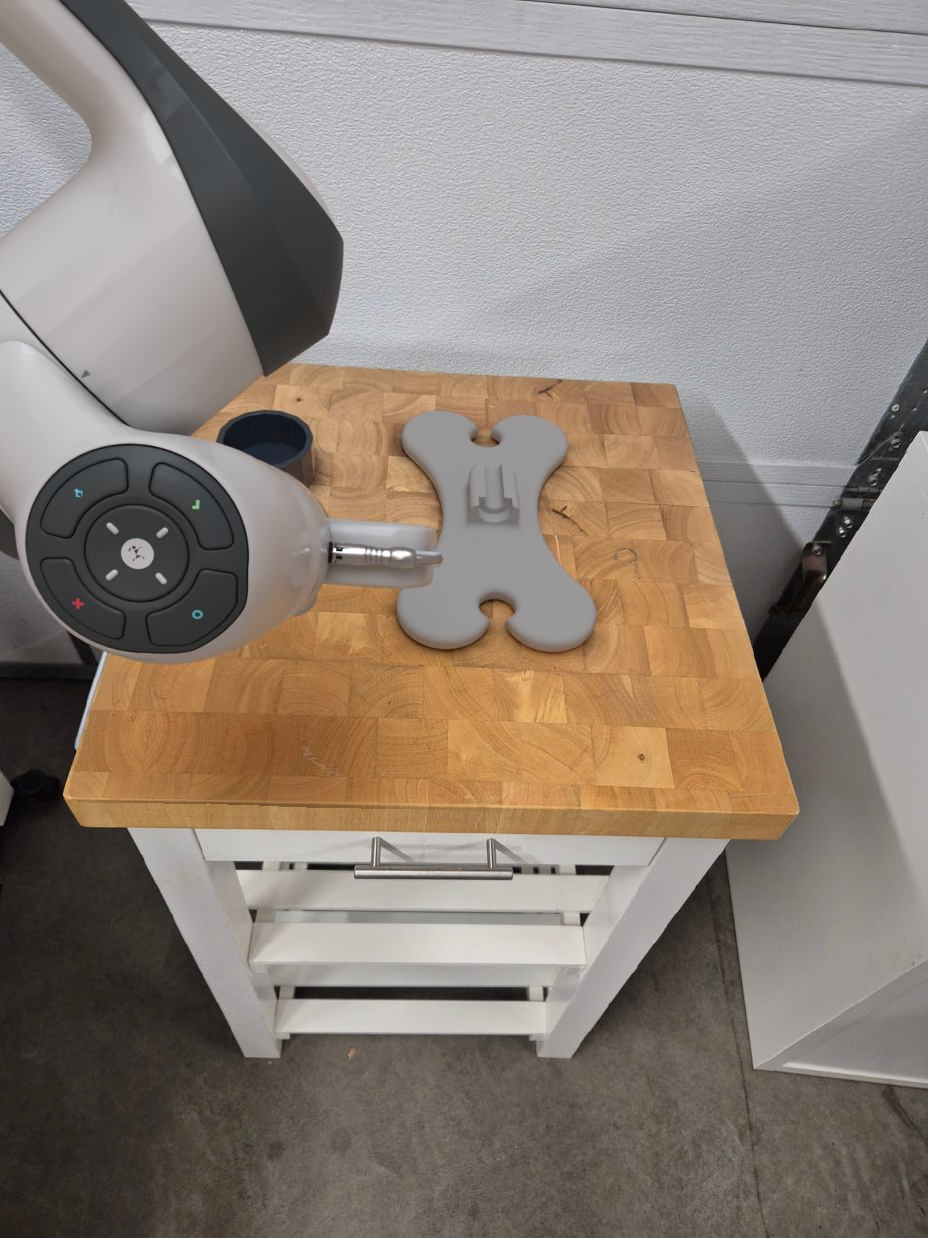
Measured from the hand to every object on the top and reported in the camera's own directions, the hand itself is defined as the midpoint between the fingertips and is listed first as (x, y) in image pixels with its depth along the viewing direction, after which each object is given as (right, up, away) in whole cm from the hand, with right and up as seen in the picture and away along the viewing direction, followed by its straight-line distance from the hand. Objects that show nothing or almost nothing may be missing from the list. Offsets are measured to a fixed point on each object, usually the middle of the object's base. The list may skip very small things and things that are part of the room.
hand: (286, 543), depth 56 cm
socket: (-9, +11, +33) cm, 36 cm away
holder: (+15, +5, +31) cm, 34 cm away
